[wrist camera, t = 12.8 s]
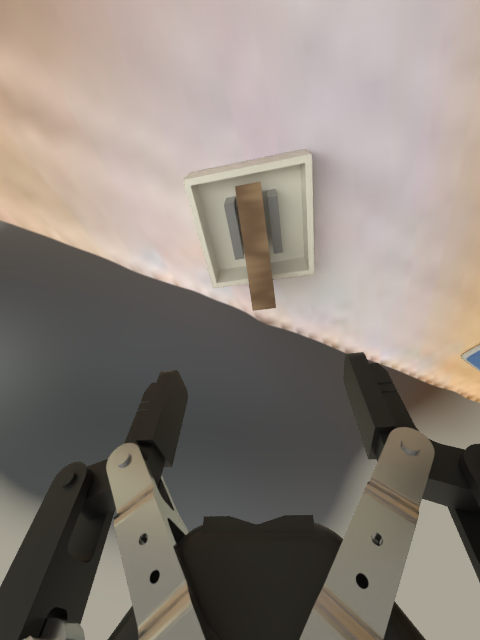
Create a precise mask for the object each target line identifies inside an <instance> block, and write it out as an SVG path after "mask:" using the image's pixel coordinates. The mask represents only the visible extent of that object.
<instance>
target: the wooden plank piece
mask: <svg viewBox="0 0 480 640" xmlns="http://www.w3.org/2000/svg"><path fill="white" fill-rule="evenodd" d="M235 191H236V198H237V204H238V211H239V218H240V225H241V232H242V239H243V246H244V253H245V260H246V267H247V274H248V281H249V287H250V294H251V301H252V308H253V311H254V310H262V309H270V308H276V304H275V295H274V287H273V279H272V271H271V263H270V254H269V246H268V238H267V230H266V221H265V213H264V205H263V197H262V189H261V181H260V182H255V183H250V184H245V185H239V186H235Z"/></svg>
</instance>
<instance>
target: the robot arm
mask: <svg viewBox="0 0 480 640" xmlns="http://www.w3.org/2000/svg"><path fill="white" fill-rule="evenodd" d="M344 384H345V388H346V391H347V395H348V398H349V401H350V404H351V407H352V410H353V413H354V416H355V419H356V422H357V426H358V429H359V431H360V435H361V438H362V441H363V444H364V447H365V450H366V453H367V456H368V459H377V465H376V467H375V470H374V472H373V474H372V477H371V479H370V481H369V482H368V483H367V486H366V488H365V490H364V492H363V494H362V497H361V499H360V501H359V504H358V506H357V508H356V511H355V513H354V516H353V518H352V520H351V522H350V525H349V527H348V530H347V532H346V534H345V537H344V539H342V538H341V537H340V536H339V535H338V534H336V533H335V532H333V531H332V530H330V529H329V528H327V527H325V526H323V525H320V524H318V523H314V520H313V515H297V516H296V515H293V516H292V515H291V516H282V517H279V518H276V519H273V520H270V521H267V522H264V523H262V524H252V523H249V522H246V521H243V520H240V519H236V518H233V517H230V516H225V517H224V516H219V517H218V516H216V517H204V522H203V525H201V526H199V527H197V528H195V529H193V530H192V531H190V532H189V533H188V531H187V528H186V527H185V525H184V523H183V521H182V520H181V518H180V516H179V514H178V512H177V510H176V508H175V505H174V503H173V500H172V498H171V496H170V494H169V491H168V489H167V486H166V484H165V482H164V479H163V477H162V471H163V467H172V464H173V461H174V456H175V452H176V448H177V443H178V439H179V435H180V430H181V426H182V422H183V418H184V413H185V409H186V405H187V400H188V393H187V389H186V387H185V385H184V382H183V380H182V378H181V376H180V374H179V372H178V371H177V370H171V371H162V372H161V373H160V375H159V377H158V380H157V383H152V384H151V385H150V386H149V387H148V389H147V390H146V391H145V392H144V395H143V397H142V400H141V404H140V405H139V408H138V411H137V413H136V416H135V418H134V420H133V423H132V426H131V428H130V431H129V433H128V436H127V438H126V441H125V443H124V444H123V445H121V446H119V447H118V448H116V449H115V451H113V452H112V454H111V455H110V457H109V458H108V459H106V460H103V461H101V462H98V463H96V464H93V465H91V466H88V467H87V466H86V465H85V464H83V463H81V462H74V463H71V464H69V465H68V466H66V467H65V468H63V469H62V470H61V471H60V472H59V473H58V474H57V476H56V477H55V479H54V480H53V482H52V484H51V486H50V488H49V490H48V492H47V494H46V496H45V498H44V500H43V502H42V504H41V506H40V508H39V510H38V512H37V514H36V516H35V518H34V520H33V522H32V524H31V526H30V529H29V530H28V532H27V534H26V536H25V538H24V540H23V542H22V545H21V546H20V548H19V551H18V553H17V554H16V556H15V559H14V560H13V562H12V564H11V566H10V569H9V571H8V573H7V575H6V577H5V579H4V581H3V583H2V585H1V587H0V640H85V638H84V631H83V629H82V627H81V625H80V623H81V620H82V617H83V614H84V610H85V607H86V603H87V600H88V596H89V594H90V590H91V587H92V584H93V581H94V577H95V574H96V570H97V567H98V564H99V561H100V557H101V554H102V551H103V548H104V544H105V541H106V538H107V534H108V531H109V528H110V525H111V521H112V518H113V515H114V511H115V510H117V516H115V517H114V528H115V532H116V537H117V541H118V545H119V550H120V554H121V558H122V562H123V567H124V571H125V575H126V579H127V584H128V587H129V592H130V596H131V600H132V607H131V608H130V610H129V611H128V612H127V614H126V615H125V616H124V618H123V619H122V621H121V622H120V623H119V625H118V626H117V627H116V629H115V630H114V632H113V633H112V635H111V636H110V637H109V639H108V640H426V639H425V638H424V637H423V636H422V635H421V633H420V632H419V631H418V630H417V628H416V627H415V626H414V625H413V623H412V622H411V621H410V620H409V619H408V617H407V616H406V615H405V614H404V612H403V611H402V610H401V609H400V608H399V606H398V605H397V604H396V602H395V601H394V600H395V597H396V593H397V590H398V586H399V583H400V579H401V576H402V572H403V569H404V566H405V562H406V559H407V555H408V552H409V548H410V545H411V541H412V538H413V534H414V531H415V528H416V524H417V520H418V515H419V506H420V503H421V500H422V499H425V500H429V501H432V502H435V503H438V504H442V505H445V506H447V507H448V509H449V511H450V514H451V516H452V518H453V521H454V523H455V525H456V527H457V530H458V532H459V535H460V537H461V539H462V542H463V544H464V546H465V549H466V551H467V553H468V556H469V558H470V560H471V563H472V565H473V567H474V570H475V572H476V574H477V577H478V579H479V582H480V444H474V445H471V446H469V447H468V448H467V449H466V450H464V449H460V448H456V447H451V446H447V445H443V444H439V443H437V442H434V441H432V440H430V439H428V438H427V437H426V436H425V435H424V434H422V433H421V432H420V431H419V430H418V429H417V428H416V427H415V425H414V423H413V421H412V419H411V417H410V415H409V413H408V411H407V409H406V408H405V405H404V404H403V402H402V400H401V398H400V396H399V394H398V393H397V390H396V388H395V386H394V384H393V382H392V380H391V378H390V376H389V374H388V372H387V371H386V370H385V369H384V368H383V367H382V366H381V365H379V364H378V363H372V364H369V363H368V360H367V358H366V356H365V354H364V353H363V352H361V353H351V354H346V355H345V365H344Z"/></svg>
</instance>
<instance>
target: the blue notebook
mask: <svg viewBox="0 0 480 640" xmlns="http://www.w3.org/2000/svg"><path fill="white" fill-rule="evenodd" d="M461 357H462V359H463V360H464V361H466V362H467V363H469V364H470V365H471V366H473V367H474V368H476V369H477V370H478V371H480V344H479V345H478V346H476V347H474V348H473V349H471V350H469V351H467V352H465V353H464V354H463V355H462V356H461Z"/></svg>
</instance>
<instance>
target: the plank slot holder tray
mask: <svg viewBox="0 0 480 640" xmlns="http://www.w3.org/2000/svg"><path fill="white" fill-rule="evenodd" d="M260 181H261V189H262V197H263V205H264V213H265V221H266V230H267V238H268V246H269V254H270V263H271V271H272V279H273V280H275V279H282V278H289V277H296V276H303V275H310V274H314V233H313V185H312V154H311V153H310V152H308V151H307V150H306V149H303V150H298V151H293V152H288V153H283V154H278V155H274V156H269V157H264V158H259V159H254V160H249V161H244V162H240V163H235V164H230V165H225V166H220V167H215V168H210V169H205V170H201V171H196V172H191V173H189V174H188V175H187V176H186V177H185V178H184V179H183V183H184V186H185V190H186V194H187V197H188V201H189V204H190V208H191V211H192V215H193V218H194V222H195V226H196V229H197V233H198V236H199V240H200V243H201V247H202V251H203V254H204V258H205V261H206V265H207V268H208V272H209V276H210V279H211V283H212V286H213V288H218V287H225V286H232V285H239V284H246V283H249V281H248V274H247V267H246V260H245V253H244V246H243V239H242V232H241V225H240V218H239V211H238V204H237V198H236V191H235V186H239V185H245V184H250V183H255V182H260Z"/></svg>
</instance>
